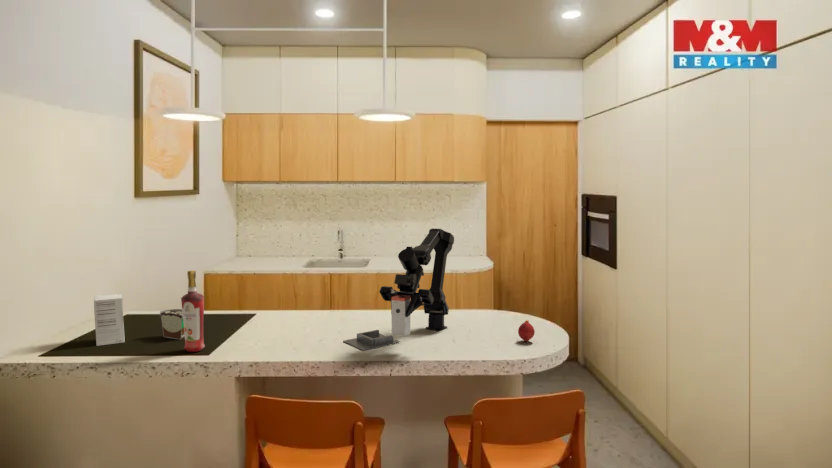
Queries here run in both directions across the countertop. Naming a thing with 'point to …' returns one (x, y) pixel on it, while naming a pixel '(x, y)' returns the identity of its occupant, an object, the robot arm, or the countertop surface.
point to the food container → (172, 323)
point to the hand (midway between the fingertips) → (399, 315)
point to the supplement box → (109, 319)
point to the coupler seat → (371, 340)
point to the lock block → (400, 315)
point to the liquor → (193, 316)
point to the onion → (526, 331)
